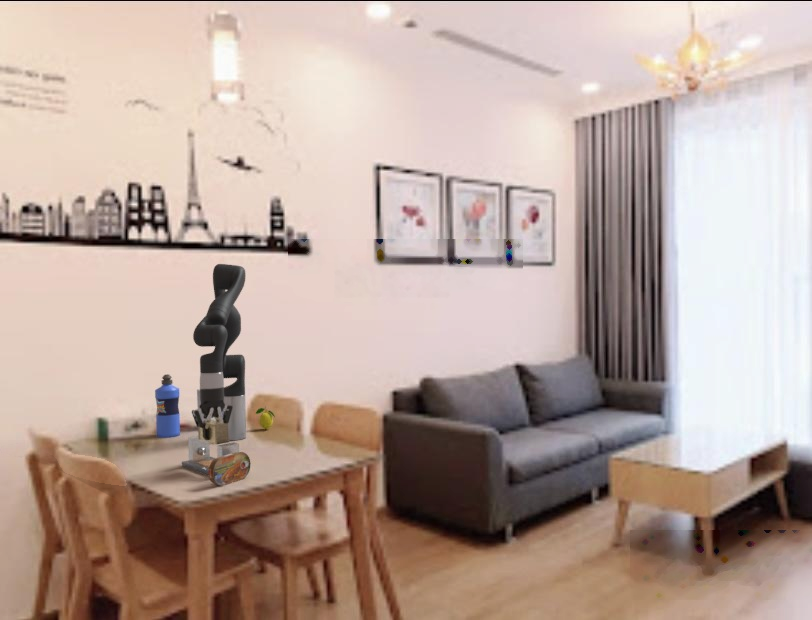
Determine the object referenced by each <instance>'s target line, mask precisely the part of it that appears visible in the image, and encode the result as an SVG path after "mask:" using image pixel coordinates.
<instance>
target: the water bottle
mask: <svg viewBox="0 0 812 620" xmlns="http://www.w3.org/2000/svg"><path fill="white" fill-rule="evenodd" d="M161 379H162V380H161V386H159V387H158V388H156V389H155V390H154V393H155V394H154V398H155V401H156V414H155V415H156V416H155V417H156V419H155V420H156V422H155V425H156V427H155V428H156V437H157V438H159V439H168V438H169V439H170V438H175V437H179V436H181V423H180V422H181V421H180V419H181V418H180V410H179V409H180V408H179V404H180V403H179V400H180V388H179V387H176V386H174V385H173V384H174V382H173V379H172V376H171V375H170V374H164V375H162V377H161Z"/></svg>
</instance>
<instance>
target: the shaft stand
mask: <svg viewBox="0 0 812 620" xmlns="http://www.w3.org/2000/svg"><path fill="white" fill-rule="evenodd" d="M187 442H188V443H187V444H188V460H184V461H181V467H183V468H187V469H189V470H192V471H195V472H197V473H200V474H202V475H203V474H204V475H205V474H206V476H208V475H209V466H210V464H211V462H212V461H213V460H214V459H216V458H218V457H222V456H225V455H228V454H231V453H235V452H240V443H238V442H228V443H222V444H217V445H216V448H217V449H216V450H217V451H216V454H217V455H216V456H217V457H214V456H210V455H211V454H210V453H211V452H210V451H211V450H210V449H211V447H210V442H207V441H203V440H199V438H198V435H195V436H194V435H193V436H188V441H187Z"/></svg>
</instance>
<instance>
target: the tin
mask: <svg viewBox="0 0 812 620" xmlns="http://www.w3.org/2000/svg"><path fill="white" fill-rule="evenodd" d="M215 458H216V459H214V460H213V461H212V462H211V464H210V466H209V476H208V480H209V481H210V482H211V483H212V484H214V485H216V486H221V487H223V486H227V485H230V484H233V483H235V482H238V480H239V481H242V480H244V479H245V478H247V476H248V475H249V473H250V470H251V459H250V457H249V455H248V454H247V453H246V452H244V451H239V452H235V453H231V454H228V455H225V456H222V457H218V458H217V457H215ZM232 482H233V483H232Z"/></svg>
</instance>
